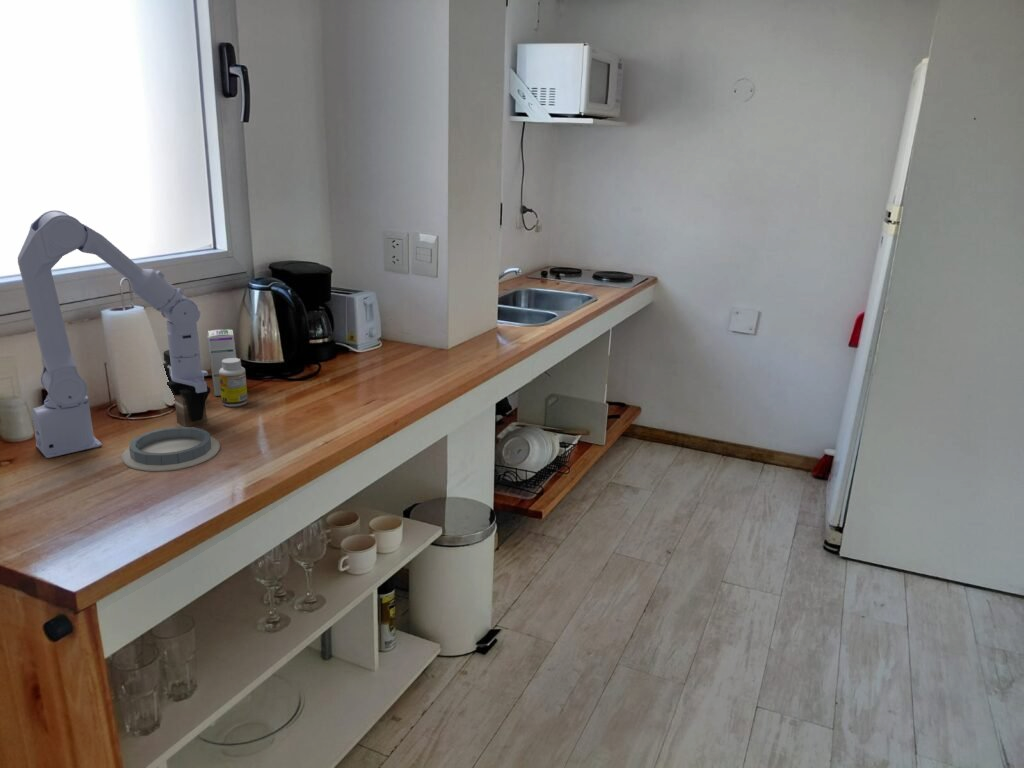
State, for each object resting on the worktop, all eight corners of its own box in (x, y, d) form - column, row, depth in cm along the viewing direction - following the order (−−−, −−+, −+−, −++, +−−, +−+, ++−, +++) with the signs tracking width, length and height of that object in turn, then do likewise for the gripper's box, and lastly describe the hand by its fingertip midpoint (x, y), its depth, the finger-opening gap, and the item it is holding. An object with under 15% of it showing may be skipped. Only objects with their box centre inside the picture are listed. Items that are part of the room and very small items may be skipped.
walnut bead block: (185, 428, 156) (182, 401, 155) (177, 422, 160) (173, 395, 158) (207, 423, 159) (204, 396, 158) (198, 417, 163) (196, 391, 161)
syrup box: (240, 394, 178) (235, 334, 173) (213, 396, 175) (207, 335, 171) (239, 386, 183) (234, 328, 178) (212, 389, 180) (207, 329, 176)
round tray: (141, 479, 133) (139, 466, 132) (109, 450, 145) (107, 437, 144) (234, 455, 144) (233, 442, 144) (198, 429, 156) (197, 418, 155)
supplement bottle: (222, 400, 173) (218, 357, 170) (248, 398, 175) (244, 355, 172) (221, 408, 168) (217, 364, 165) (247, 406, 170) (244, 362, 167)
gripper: (219, 358, 152) (225, 421, 157) (190, 343, 162) (196, 403, 167) (183, 364, 148) (190, 429, 152) (156, 348, 158) (163, 410, 162)
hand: (191, 416), depth 159 cm, fingers open, 5 cm apart
